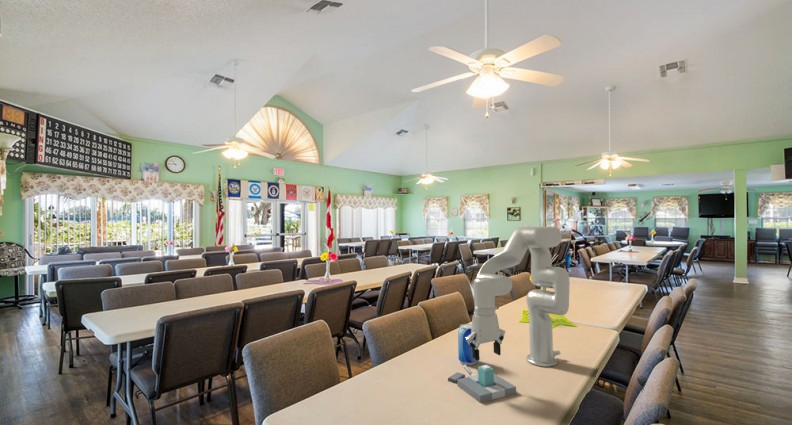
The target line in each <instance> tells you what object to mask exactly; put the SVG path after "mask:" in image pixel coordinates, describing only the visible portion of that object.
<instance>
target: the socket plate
mask: <svg viewBox="0 0 792 425" xmlns="http://www.w3.org/2000/svg"><path fill="white" fill-rule="evenodd" d="M474 375H475V376H471V375H470V376H467V377H466V376H465V378H461V379H457V383H456V386H457V387H459V388H460V389H461V390H462V391H463V392H465V393H467V394H468V395H469V396H471V397H472V398H473V399H475V400H476V401H477V402H478V403H484V402H485V403H486V402H488V401H493V400H495V399H500V398H504V397H507V396H511V395H514V394H517V386H515V385H514V384H513V383H511V382H509V381H507V380H506V379H504V378H502V377H501V376H498V375H497V374H495V373H494V385H493V386H489V387H485V388H484V387H483V386H481V385H480V384H478V374H474Z"/></svg>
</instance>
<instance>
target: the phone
mask: <svg viewBox="0 0 792 425" xmlns="http://www.w3.org/2000/svg"><path fill="white" fill-rule="evenodd" d="M461 378H466V374H464V373H461V372H455V373H454V374H452V375H450V376H449V377H448V378H447V381H448V382H450V383H454V384H457V379H461Z"/></svg>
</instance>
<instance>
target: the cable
mask: <svg viewBox="0 0 792 425" xmlns="http://www.w3.org/2000/svg"><path fill="white" fill-rule="evenodd" d="M462 368H463V369H465V370H466V371H467V373H468V374H469V375H470V376H475V375H476V374H474V373H472V371H471V370H470V369H469V368H468V365H464V364H462Z"/></svg>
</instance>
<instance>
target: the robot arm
mask: <svg viewBox="0 0 792 425" xmlns="http://www.w3.org/2000/svg"><path fill="white" fill-rule="evenodd" d="M562 239H563V238H562V232H561V231H560V229H559V228H558V227H556V226H522V227H521V226H519V227H517V228H515V229H514V230H513V231H512V233H511V234H510V235H509V238H508V240H507V241H506V243H505V244H504V247H503V249H502V250H501V251H499V253H497V254H495V255H494V256H492V257H490V258H489V259H488V260H486V261H485V262H484V263H483V264H482V265H481V267H480V269H479V270H478V273H477V274H476V276H475V278H474V280H473V297H474V299H473V300H474V302H473V303H474V314H473V315H472V318H471V325H472V327H471V334H470V335H469V336H468V337H466V340H467V342H468V344H469V345H470V346H471V348H472V354H473V358H474V359H476V360H477V362H478V361H480V349H479V348H480V346H481V344H487V343H491V342H493V353H494V354H496V355H497V356H501V345H502V344H503V340H504V337H505V334H506V330H504V329H502V328H500V325H499V318H498V315H497V312H496V310H497V309H498V307H497V305H496V296H498V297H499V296H505V295H508V294H509V293H510V292H511V291H512V290H513V282H512V280H511V278H510V277H508V276H506V275H501V274H497V273H498V272H499V271H502V270H504V269H505V270H506V269H508V268H512V267H515V266H518V265H519V264H521V262H522V261H523V259H524V257H525V255H526V253H527V252H528V250H529V253H530V262H531V263H530V280H531V283H532V285H534V286H536V287H540V288H541V287H542V288H547V289H552V290H554V291H552V290H551V291H550V290H545V289H531V290H529V291H528V293H527V294H526V300H525V301H526V305H527V311H528V317H529V318H528V319H529V320H528V321H529V323H528V325H529V354H527V355H526V357H525V358H526V361H527V363H529V364H532V365H535V366H536V367H537V366H538V367H545V368H546V367H547V368H548V367H549V368H550V367H555V366H556V365H557V364H558V360H557V359H556V358H555V357H556V356H559V355H561V351H560V350H554V342H553V340H554V338H553V335H554V334H553V321H552V318H551V316H550V315H555V316H566V314H567V313H568V312H569V308H570V276H569V273H568V271H567V269H565V268H563V267H561V266H552V265H553V264H552V253H551V251H550V249H549V248H555V247H557V246H559V245H560V243H561V242H562ZM472 340H474V341H473V342H472ZM477 340H478V341H477ZM476 342H477V344H476ZM475 344H476V345H475Z"/></svg>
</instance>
